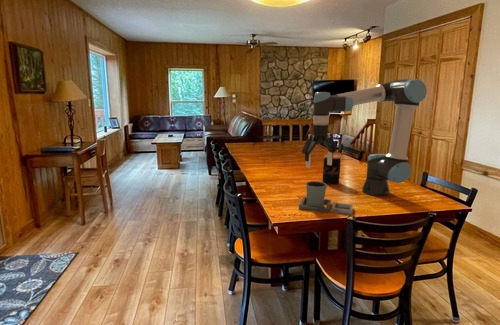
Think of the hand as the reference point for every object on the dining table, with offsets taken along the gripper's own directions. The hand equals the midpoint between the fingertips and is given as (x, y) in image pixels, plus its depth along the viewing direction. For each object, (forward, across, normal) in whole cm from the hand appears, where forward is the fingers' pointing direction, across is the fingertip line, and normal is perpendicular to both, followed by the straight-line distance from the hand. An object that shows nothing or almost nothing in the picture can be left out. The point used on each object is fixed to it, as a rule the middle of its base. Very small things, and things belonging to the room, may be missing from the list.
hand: (318, 166), depth 158 cm
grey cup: (+21, +2, +1) cm, 21 cm away
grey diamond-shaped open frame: (+21, -7, +11) cm, 25 cm away
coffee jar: (+21, -36, -31) cm, 52 cm away
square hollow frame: (+21, +2, +1) cm, 21 cm away
